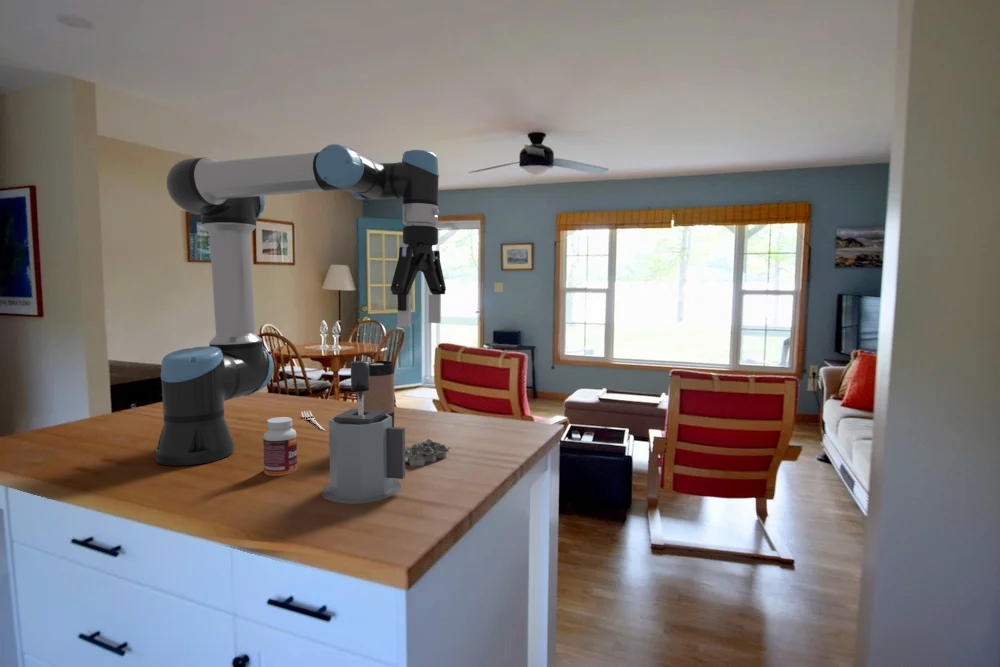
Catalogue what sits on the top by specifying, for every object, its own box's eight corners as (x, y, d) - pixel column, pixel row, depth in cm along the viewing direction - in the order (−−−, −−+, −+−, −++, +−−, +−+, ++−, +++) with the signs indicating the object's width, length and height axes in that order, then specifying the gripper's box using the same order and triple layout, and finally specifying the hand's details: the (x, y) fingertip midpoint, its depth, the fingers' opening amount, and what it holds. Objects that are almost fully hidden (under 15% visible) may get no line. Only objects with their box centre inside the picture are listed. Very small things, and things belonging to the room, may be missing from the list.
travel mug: (386, 454, 122) (385, 365, 120) (355, 452, 123) (353, 364, 121) (399, 444, 129) (399, 361, 127) (369, 442, 131) (368, 360, 129)
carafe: (322, 496, 95) (320, 418, 94) (348, 476, 105) (347, 406, 104) (393, 502, 93) (392, 422, 91) (413, 481, 103) (413, 409, 101)
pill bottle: (295, 478, 106) (293, 422, 105) (261, 480, 105) (259, 424, 104) (299, 467, 112) (298, 415, 111) (267, 469, 111) (265, 416, 110)
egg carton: (415, 473, 110) (415, 453, 110) (392, 465, 115) (391, 446, 115) (453, 460, 118) (453, 442, 118) (429, 453, 123) (429, 435, 123)
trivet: (306, 504, 94) (306, 499, 94) (344, 476, 107) (343, 472, 107) (383, 510, 91) (383, 506, 91) (411, 481, 105) (411, 477, 105)
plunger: (330, 480, 96) (328, 364, 94) (351, 465, 104) (349, 358, 102) (373, 483, 94) (371, 366, 92) (390, 468, 102) (389, 359, 100)
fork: (318, 435, 139) (318, 428, 139) (299, 417, 156) (299, 411, 156) (331, 433, 141) (331, 426, 141) (311, 416, 158) (311, 410, 158)
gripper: (406, 218, 104) (406, 329, 106) (460, 231, 127) (459, 322, 129) (372, 219, 106) (373, 327, 108) (431, 232, 130) (431, 320, 132)
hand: (420, 324), depth 119 cm, fingers open, 13 cm apart
